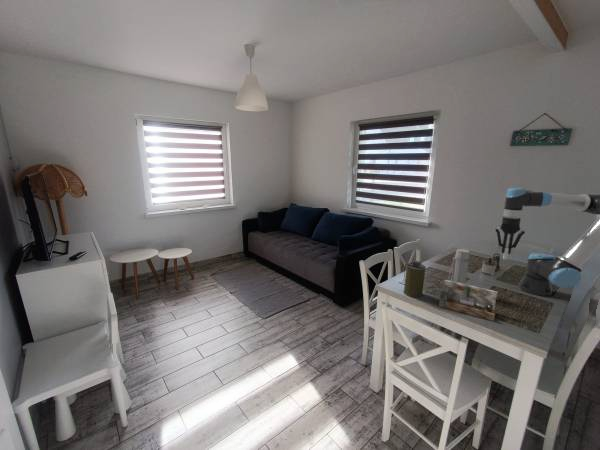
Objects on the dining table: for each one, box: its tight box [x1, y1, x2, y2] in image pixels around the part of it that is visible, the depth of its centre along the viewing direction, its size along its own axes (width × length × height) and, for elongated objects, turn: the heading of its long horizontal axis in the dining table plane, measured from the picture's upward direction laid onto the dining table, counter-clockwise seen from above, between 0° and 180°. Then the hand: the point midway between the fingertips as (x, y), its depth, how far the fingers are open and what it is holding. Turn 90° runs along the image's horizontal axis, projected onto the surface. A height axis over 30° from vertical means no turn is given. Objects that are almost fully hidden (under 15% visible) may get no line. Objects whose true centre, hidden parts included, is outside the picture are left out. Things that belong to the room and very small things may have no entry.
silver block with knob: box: [460, 288, 493, 312], centre depth 136 cm, size 14×6×9 cm, turn 55°
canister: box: [403, 259, 427, 299], centre depth 153 cm, size 11×10×20 cm
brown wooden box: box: [438, 279, 498, 322], centre depth 138 cm, size 24×10×12 cm, turn 55°
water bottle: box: [448, 248, 470, 284], centre depth 158 cm, size 9×8×25 cm
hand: (504, 258), depth 147 cm, fingers closed
